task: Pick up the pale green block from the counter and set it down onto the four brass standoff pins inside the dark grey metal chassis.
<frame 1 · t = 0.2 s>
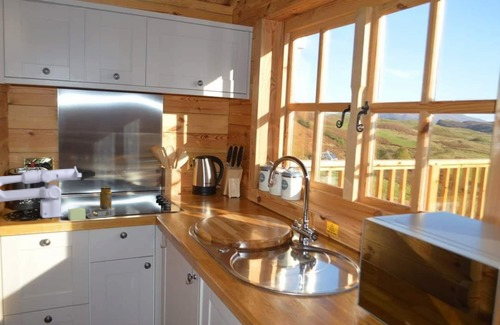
hand: (93, 173, 219), 21 cm above the countertop, tool horizontal, fingers open, 7 cm apart
pale green block: (76, 219, 205), on the countertop
condiment: (106, 209, 231), on the countertop
chassis: (99, 215, 214), on the countertop
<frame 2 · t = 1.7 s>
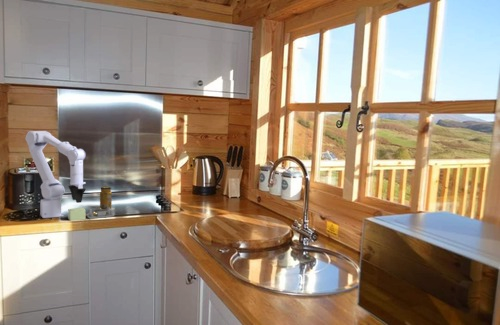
hand: (76, 201, 205), 9 cm above the countertop, tool pointing down, fingers open, 7 cm apart
nothing on the countertop moved.
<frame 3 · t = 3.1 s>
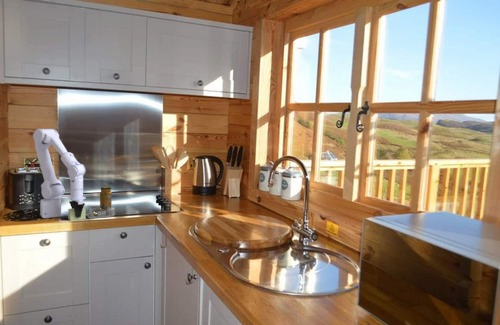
hand: (76, 216, 205), 1 cm above the countertop, tool pointing down, fingers closed on pale green block, 4 cm apart
pale green block: (76, 219, 205), on the countertop, touching gripper
everything else where it was.
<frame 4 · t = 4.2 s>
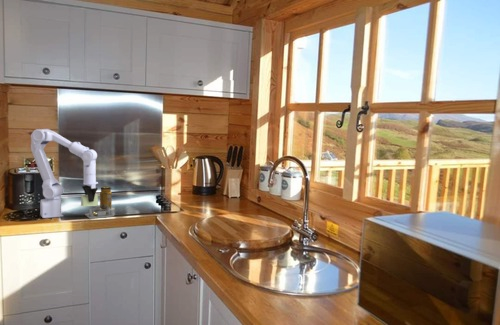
hand: (89, 200, 209), 9 cm above the countertop, tool pointing down, fingers closed on pale green block, 4 cm apart
pale green block: (89, 205, 209), point 6 cm above the countertop, touching gripper
everything else where it was.
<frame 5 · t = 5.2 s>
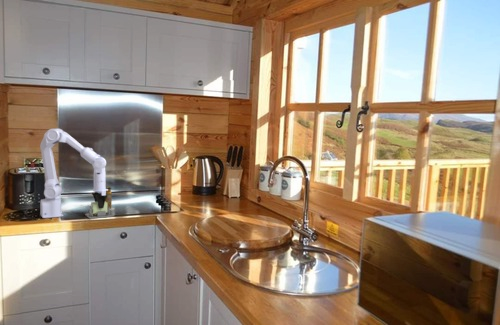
hand: (99, 207, 213), 4 cm above the countertop, tool pointing down, fingers closed on pale green block, 4 cm apart
pale green block: (99, 212, 213), point 2 cm above the countertop, touching chassis, gripper
everything else where it was.
when the fingers open (4 cm above the countertop, at t = 5.7 s): pale green block stays where it is, resting on chassis.
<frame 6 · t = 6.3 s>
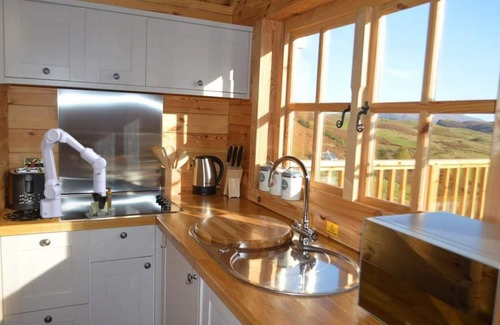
hand: (99, 207, 213), 4 cm above the countertop, tool pointing down, fingers open, 7 cm apart
pale green block: (99, 212, 213), point 2 cm above the countertop, touching chassis
everything else where it was.
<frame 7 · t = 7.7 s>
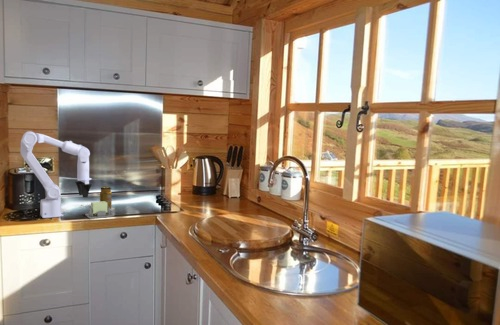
hand: (83, 196, 216), 9 cm above the countertop, tool pointing down, fingers open, 7 cm apart
nothing on the countertop moved.
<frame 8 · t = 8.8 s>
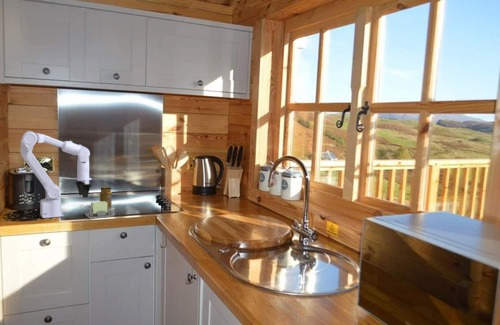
hand: (83, 196, 216), 9 cm above the countertop, tool pointing down, fingers open, 7 cm apart
nothing on the countertop moved.
at the end: pale green block 0.2 cm off-centre on the chassis, point 2.0 cm above the chassis's base; pale green block tilted 0°; the gripper is holding nothing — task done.
